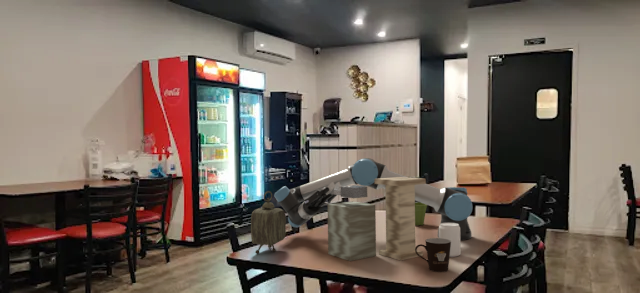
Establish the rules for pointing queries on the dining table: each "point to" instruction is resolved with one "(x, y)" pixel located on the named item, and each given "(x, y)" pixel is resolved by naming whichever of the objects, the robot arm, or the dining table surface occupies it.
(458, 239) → the beverage can
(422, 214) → the green tapered cylinder
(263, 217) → the tabletop clock
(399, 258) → the beige grey streaked blocks
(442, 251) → the coffee mug
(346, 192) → the grey t-shaped bar
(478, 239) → the dining table surface
